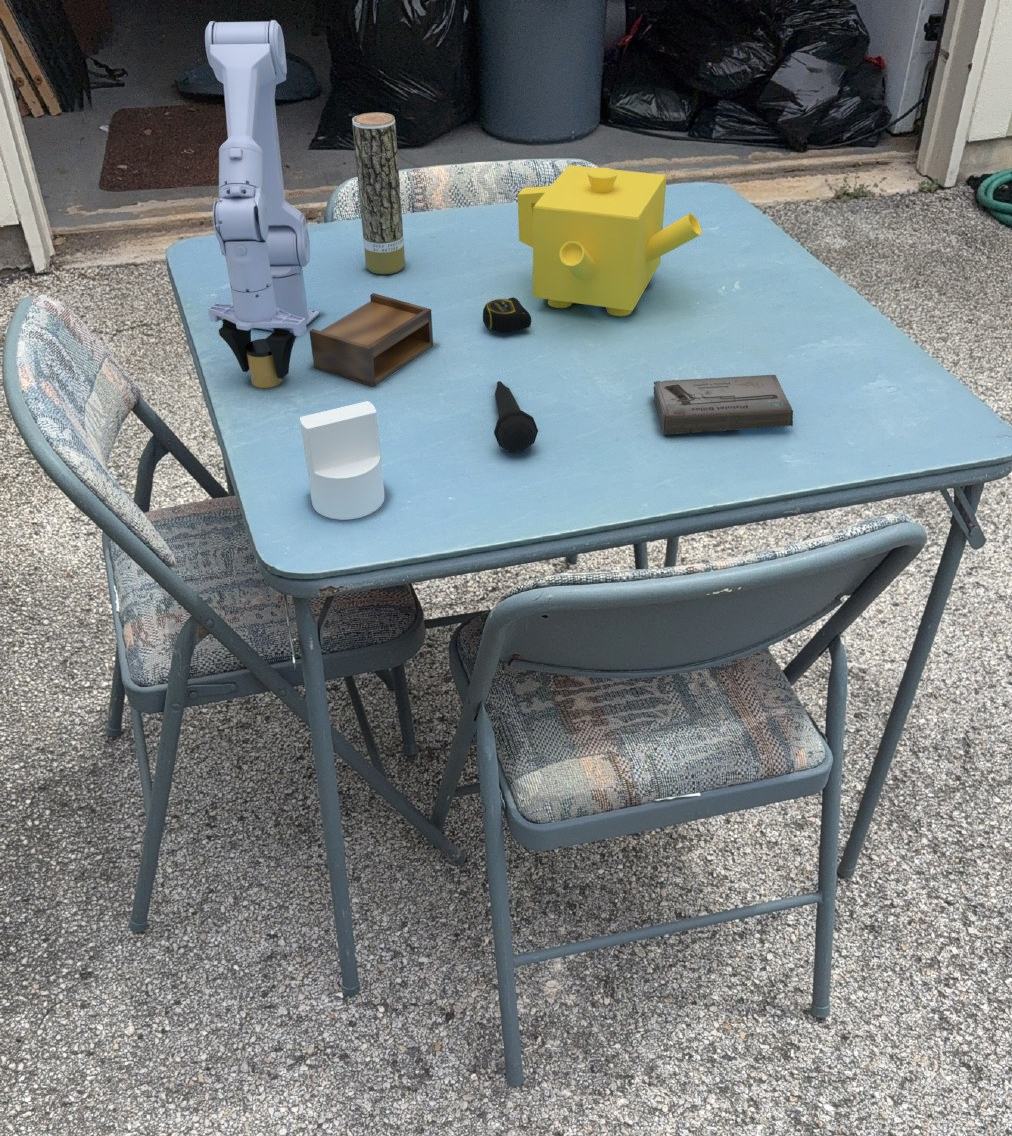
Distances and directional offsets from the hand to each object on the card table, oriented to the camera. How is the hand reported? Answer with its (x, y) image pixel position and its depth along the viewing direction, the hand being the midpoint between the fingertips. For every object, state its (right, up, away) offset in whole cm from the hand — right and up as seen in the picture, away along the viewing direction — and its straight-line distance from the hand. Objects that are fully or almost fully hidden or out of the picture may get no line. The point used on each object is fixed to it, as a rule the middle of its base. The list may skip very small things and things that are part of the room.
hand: (265, 372), depth 164 cm
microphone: (+36, -9, -9) cm, 38 cm away
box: (+64, -8, -9) cm, 65 cm away
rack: (+15, +3, +6) cm, 17 cm away
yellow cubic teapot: (+51, +16, +22) cm, 58 cm away
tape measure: (+35, +9, +14) cm, 39 cm away
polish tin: (0, -1, +1) cm, 1 cm away
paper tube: (+14, +23, +32) cm, 42 cm away
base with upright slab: (+15, -20, -23) cm, 34 cm away
